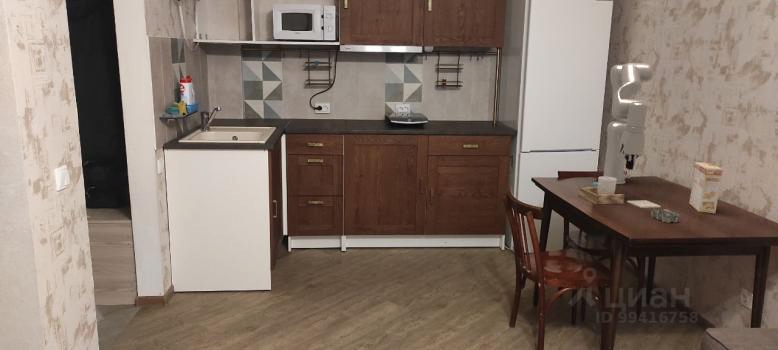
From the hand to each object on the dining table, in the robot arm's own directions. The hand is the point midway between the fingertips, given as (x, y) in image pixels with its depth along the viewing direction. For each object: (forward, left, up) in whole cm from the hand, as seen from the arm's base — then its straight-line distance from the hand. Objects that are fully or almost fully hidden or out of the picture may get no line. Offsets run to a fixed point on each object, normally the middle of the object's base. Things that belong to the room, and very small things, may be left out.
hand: (629, 168), depth 273 cm
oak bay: (+13, +1, -14) cm, 19 cm away
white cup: (+11, +1, -14) cm, 18 cm away
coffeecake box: (-26, +19, -14) cm, 35 cm away
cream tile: (-2, +11, -14) cm, 18 cm away
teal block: (+7, -10, -14) cm, 19 cm away
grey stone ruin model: (+4, +32, -15) cm, 35 cm away
